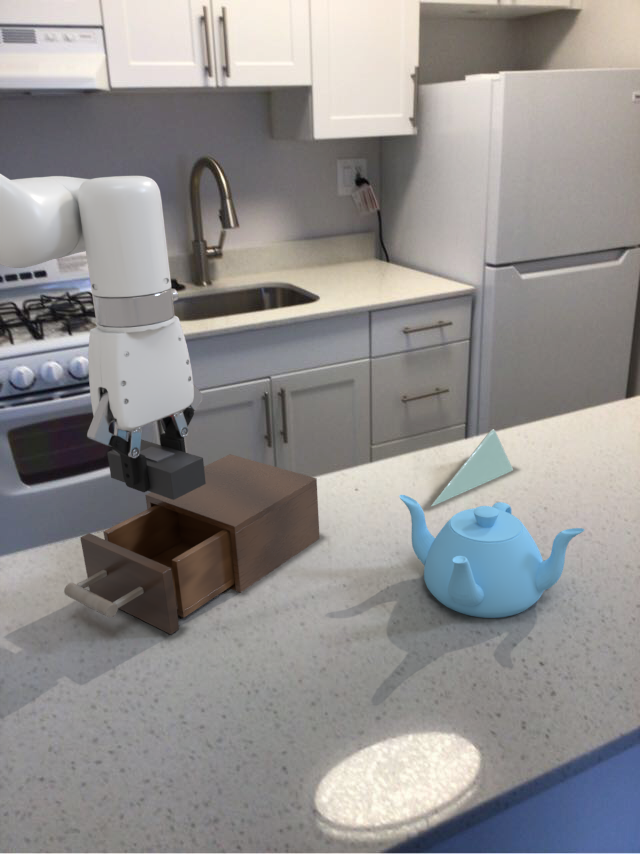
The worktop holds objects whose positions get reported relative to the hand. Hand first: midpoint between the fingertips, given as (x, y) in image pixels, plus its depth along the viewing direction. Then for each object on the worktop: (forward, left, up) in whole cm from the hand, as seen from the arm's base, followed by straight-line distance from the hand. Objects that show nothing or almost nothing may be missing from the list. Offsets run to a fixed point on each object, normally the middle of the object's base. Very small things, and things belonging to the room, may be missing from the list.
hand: (157, 477), depth 80 cm
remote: (0, 0, 0) cm, 0 cm away
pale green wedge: (0, +46, -15) cm, 48 cm away
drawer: (0, -1, -14) cm, 14 cm away
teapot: (+20, +28, -15) cm, 38 cm away
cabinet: (-5, +11, -15) cm, 19 cm away
